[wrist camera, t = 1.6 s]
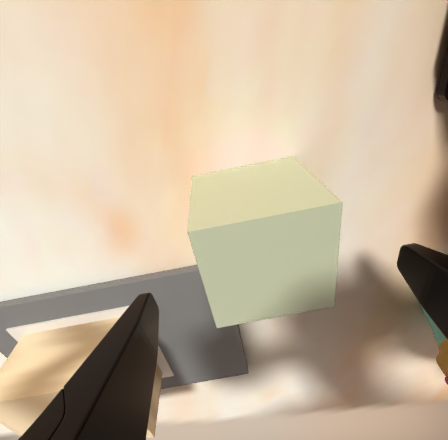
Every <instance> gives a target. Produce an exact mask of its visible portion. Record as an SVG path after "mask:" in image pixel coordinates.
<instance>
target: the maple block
mask: <svg viewBox="0 0 448 440" xmlns="http://www.w3.org/2000/svg"><path fill="white" fill-rule="evenodd" d="M119 318H120V317H117V318H111V319H106V320H101V321H95V322H90V323H84V324H79V325H74V326H68V327H63V328H57V329H52V330H47V331H41V332H36V333H30V334H25V335H23V336H22V337H21V339H20V340H19V342H18V343H17V345H16V346H15V348H14V349H13V351H12V352H11V354H10V355H9V357H8V358H7V360H6V361H5V363H4V364H3V366H2V367H1V369H0V423H1V424H3V425H4V426H6V427H7V428H9V429H10V430H12V431H13V432H15V433H16V434H18V435H20V436H22V435H23V434H24V432H25V431H26V430H27V429H28V428H29V427H30V426H31V425H32V424H33V422H34V421H35V420H36V419H37V418H38V417H39V415H40V414H41V413H42V412H43V411H44V409H45V408H46V407H47V406H48V405H49V403H50V402H51V401H52V400H53V399H54V397H55V396H56V395H57V394H58V393H59V391H60V390H61V389H64V385H65V384H66V383H67V382H68V380H69V379H70V378H71V377H72V376H73V374H74V373H75V372H76V371H77V369H78V368H79V367H80V366H81V364H82V363H83V362H84V361H85V360H86V358H87V357H88V356H89V355H90V353H91V352H92V351H93V350H94V349H95V347H96V346H97V345H98V344H99V342H100V341H101V340H102V339H103V338H104V336H105V335H106V334H107V333H108V331H109V330H110V329H111V328H112V327H113V325H114V324H115V323H116V322H117V320H118V319H119ZM161 381H162V371H161V369H160V368H159V366H158V364H156V371H155V378H154V385H153V392H152V399H151V406H150V414H149V421H148V428H147V435H146V438H152V437H154V436H155V428H156V420H157V412H158V404H159V396H160V389H161Z"/></svg>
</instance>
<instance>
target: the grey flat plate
mask: <svg viewBox="0 0 448 440" xmlns="http://www.w3.org/2000/svg"><path fill="white" fill-rule="evenodd" d="M147 292H151V293H152V295H153V297H154V299H155V301H156V303H157V305H158V308H159V334H158V356H157V364H158V366H159V368H160V369H161V371H162V381H161V389H163V388H169V387H175V386H180V385H186V384H192V383H197V382H203V381H209V380H214V379H220V378H225V377H231V376H237V375H242V374H248V368H247V363H246V359H245V355H244V351H243V346H242V342H241V338H240V334H239V329H238V325H232V326H226V327H221V328H217V327H216V324H215V321H214V317H213V314H212V311H211V308H210V304H209V301H208V298H207V295H206V291H205V288H204V285H203V281H202V278H201V275H200V272H199V268H198V265H194V266H188V267H183V268H178V269H172V270H167V271H162V272H156V273H151V274H146V275H141V276H135V277H130V278H125V279H119V280H114V281H109V282H104V283H98V284H93V285H88V286H82V287H77V288H72V289H66V290H61V291H56V292H51V293H45V294H40V295H35V296H29V297H24V298H19V299H13V300H8V301H3V302H0V352H1V353H2V354H3V355H4V356H5V357H7V358H8V357H9V355H10V354H11V352H12V351H13V349H14V348H15V346H16V345H17V343H18V342H19V340H20V339H21V337H22V336H23V335H25V334H30V333H36V332H41V331H47V330H52V329H57V328H63V327H68V326H74V325H79V324H84V323H90V322H95V321H101V320H106V319H111V318H117V317H121V315H122V314H123V313H124V312H125V311H126V309H127V308H128V307H129V306H130V304H131V303H132V302H133V301H134V300H135V298H136V297H137V296H138V295H139V294H141V293H147Z"/></svg>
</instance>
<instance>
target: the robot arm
mask: <svg viewBox="0 0 448 440" xmlns="http://www.w3.org/2000/svg"><path fill="white" fill-rule="evenodd" d="M437 96H438V98H439V99H440V100H443V101H448V48H447V52H446V56H445V60H444V64H443V68H442V73H441V77H440V81H439V85H438V89H437ZM397 267H398V269H399V271H400V273H401V274H402V276H403V277H404V279H405V280H406V282H407V284H408V285H409V287H410V288H411V290H412V292H413V293H414V295H415V296H416V298H417V300H418V301H419V303H420V304H421V306H422V307H423V308H424V310H425V311H426V313H427V314H428V315H429V316H430V318H431V319H432V320H433V322H434V323H435V324H436V325H437V327H438V328H439V329H440V331H441V332H442V333H443V334H444V336H445V337H446V338H447V340H448V255H446V254H443V253H440V252H438V251H435V250H432V249H430V248H427V247H424V246H422V245H419V244H416V243H412V244H407V245H403V246H402V247H401V248H400V252H399V256H398V260H397ZM158 334H159V308H158V305H157V303H156V301H155V299H154V297H153V295H152V293H151V292H147V293H141V294H139V295H138V296H137V297H136V298H135V300H134V301H133V302H132V303H131V304H130V306H129V307H128V308H127V309H126V311H125V312H124V313H123V314H122V315H121V317H120V318H119V319H118V320H117V322H116V323H115V324H114V325H113V327H112V328H111V329H110V330H109V331H108V333H107V334H106V335H105V336H104V338H103V339H102V340H101V341H100V342H99V344H98V345H97V346H96V347H95V349H94V350H93V351H92V352H91V353H90V355H89V356H88V357H87V358H86V360H85V361H84V362H83V363H82V364H81V366H80V367H79V368H78V369H77V371H76V372H75V373H74V374H73V376H72V377H71V378H70V379H69V380H68V382H67V383H66V384H65V385H64V389H61V390H60V391H59V393H58V394H57V395H56V396H55V397H54V399H53V400H52V401H51V402H50V403H49V405H48V406H47V407H46V408H45V409H44V411H43V412H42V413H41V414H40V415H39V417H38V418H37V419H36V420H35V421H34V422H33V424H32V425H31V426H30V427H29V428H28V429H27V430H26V431H25V432H24V434H23V435H22V436H21V437H20V438H19V439H18V440H146V435H147V428H148V421H149V414H150V406H151V399H152V392H153V385H154V378H155V371H156V364H157V356H158Z"/></svg>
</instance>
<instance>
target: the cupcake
mask: <svg viewBox="0 0 448 440" xmlns="http://www.w3.org/2000/svg"><path fill="white" fill-rule="evenodd" d="M422 310H423V312H424V314H425V316H426V317H427V319H428V322H429V324H430V326H431V328H432V330H433V333H434V335H435V338H436V340H437V343H438V346H439V349H440V353H439V355H438V356H437V358H436V360H437V363H438V365H439V367H440V368H441V370H442V371H443V373H444V374H445V376H446V377H445V381H446V383H447V384H448V340H447V338H446V337H445V336H444V334H443V333H442V332H441V331H440V329H439V328H438V327H437V325H436V324H435V323H434V322H433V320H432V319H431V318H430V316H429V315H428V314H427V313H426V311H425V310H424V308H423V307H422Z"/></svg>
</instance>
